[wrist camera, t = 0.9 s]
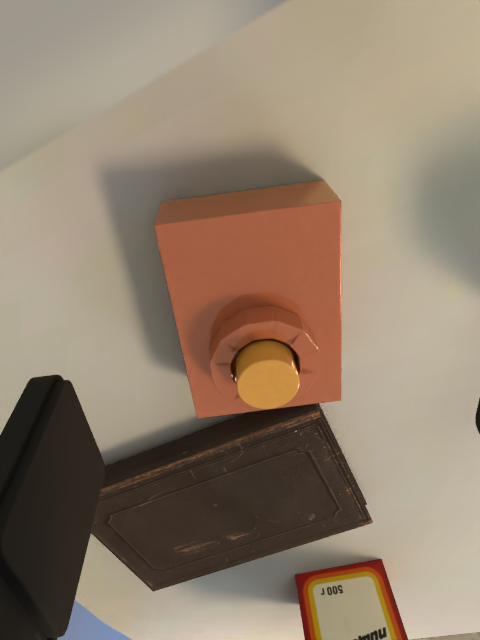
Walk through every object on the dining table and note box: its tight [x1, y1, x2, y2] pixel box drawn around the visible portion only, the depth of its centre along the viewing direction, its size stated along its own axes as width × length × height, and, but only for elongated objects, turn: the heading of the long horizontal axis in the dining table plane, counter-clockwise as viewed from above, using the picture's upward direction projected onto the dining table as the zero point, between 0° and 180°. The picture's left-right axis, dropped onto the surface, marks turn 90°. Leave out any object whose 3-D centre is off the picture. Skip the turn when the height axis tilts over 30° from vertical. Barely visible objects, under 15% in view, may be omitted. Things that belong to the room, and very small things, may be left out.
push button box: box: [154, 180, 341, 418], centre depth 29 cm, size 14×10×6 cm
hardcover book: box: [91, 403, 373, 591], centre depth 41 cm, size 16×23×2 cm
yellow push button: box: [235, 340, 300, 409], centre depth 27 cm, size 4×4×2 cm
